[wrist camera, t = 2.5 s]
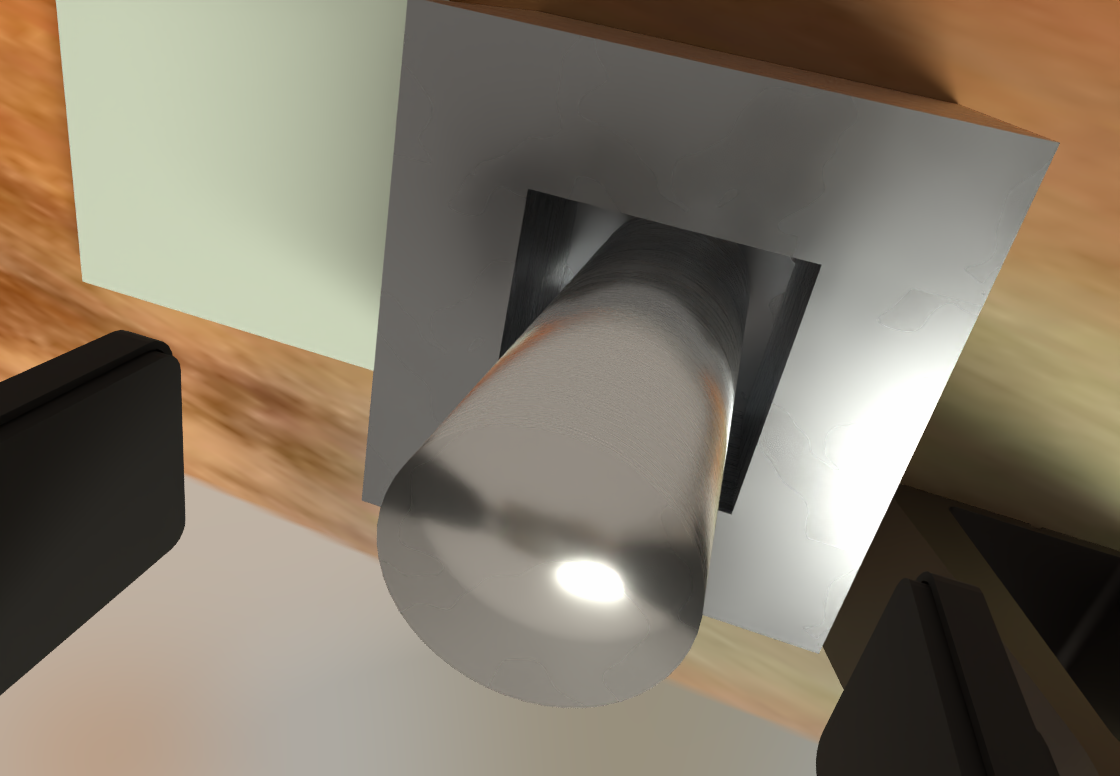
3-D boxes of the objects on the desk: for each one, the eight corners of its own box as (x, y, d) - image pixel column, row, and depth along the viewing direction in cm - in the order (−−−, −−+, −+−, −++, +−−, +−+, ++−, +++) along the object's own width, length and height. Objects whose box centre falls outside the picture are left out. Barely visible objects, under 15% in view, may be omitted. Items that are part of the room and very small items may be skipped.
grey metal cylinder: (771, 232, 18) (750, 490, 8) (724, 379, 20) (654, 750, 10) (611, 191, 19) (393, 380, 9) (578, 338, 21) (365, 644, 10)
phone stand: (1198, 575, 22) (1574, 1064, 12) (1090, 717, 25) (1315, 1219, 14) (883, 476, 23) (962, 836, 13) (813, 621, 26) (830, 1016, 16)
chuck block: (958, 104, 19) (1059, 142, 12) (809, 472, 24) (818, 653, 17) (537, 10, 21) (407, -4, 14) (479, 373, 26) (362, 500, 19)
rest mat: (453, -30, 21) (438, -32, 20) (408, 366, 26) (394, 377, 25) (73, -112, 23) (44, -118, 22) (104, 273, 28) (82, 281, 27)
